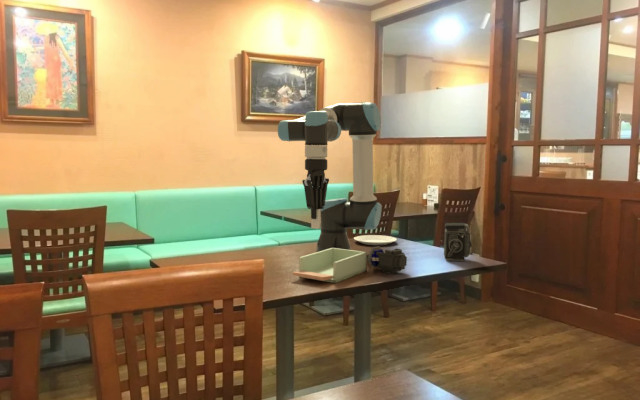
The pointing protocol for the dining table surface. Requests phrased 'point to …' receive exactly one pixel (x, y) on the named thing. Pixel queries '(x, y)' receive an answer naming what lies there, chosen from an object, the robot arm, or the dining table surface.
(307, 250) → the dining table surface
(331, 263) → the tray
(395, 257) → the toy
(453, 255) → the camera
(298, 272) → the panel
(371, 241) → the plate
